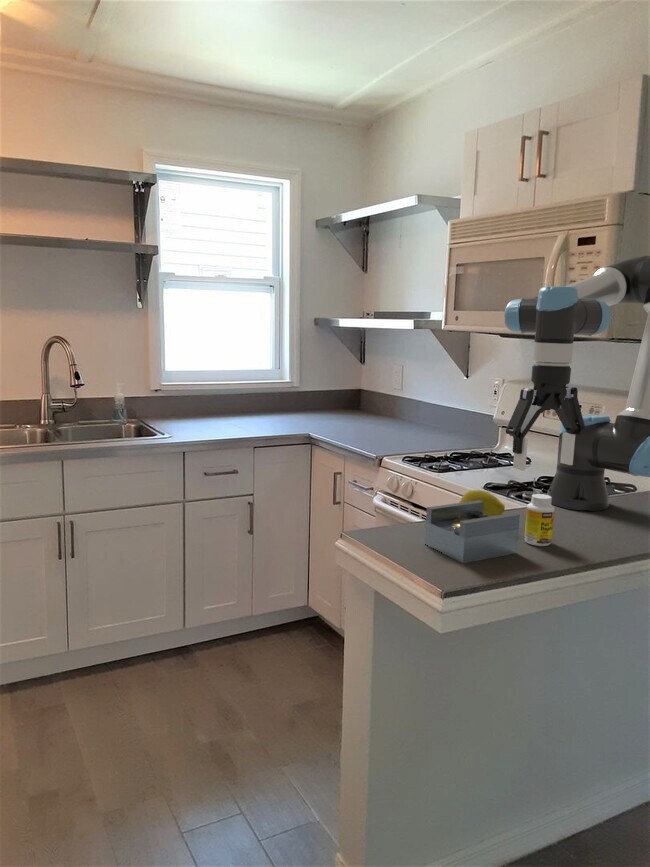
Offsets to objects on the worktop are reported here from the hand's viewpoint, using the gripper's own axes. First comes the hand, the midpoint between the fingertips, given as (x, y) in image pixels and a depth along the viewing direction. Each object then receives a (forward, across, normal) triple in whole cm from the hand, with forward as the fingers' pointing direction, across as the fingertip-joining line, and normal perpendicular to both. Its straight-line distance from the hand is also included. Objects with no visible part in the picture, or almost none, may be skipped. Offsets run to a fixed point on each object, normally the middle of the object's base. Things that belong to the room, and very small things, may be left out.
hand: (543, 466), depth 141 cm
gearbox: (+16, +16, -3) cm, 23 cm away
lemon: (+17, +3, -15) cm, 23 cm away
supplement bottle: (+17, 0, 0) cm, 17 cm away
